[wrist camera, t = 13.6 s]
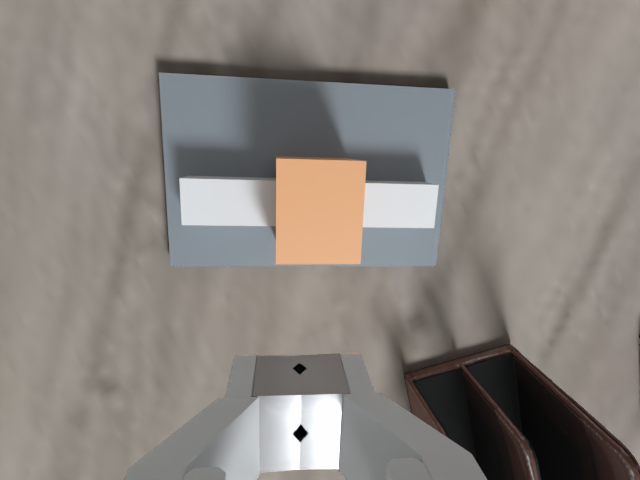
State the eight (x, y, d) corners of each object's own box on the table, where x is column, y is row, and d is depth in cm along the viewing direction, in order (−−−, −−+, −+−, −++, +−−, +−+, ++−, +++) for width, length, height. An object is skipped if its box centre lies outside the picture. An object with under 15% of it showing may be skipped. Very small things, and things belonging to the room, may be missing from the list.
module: (347, 158, 27) (366, 160, 21) (343, 240, 28) (360, 264, 22) (276, 156, 26) (276, 158, 21) (275, 240, 28) (275, 264, 22)
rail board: (449, 91, 28) (472, 83, 24) (430, 262, 31) (448, 275, 27) (163, 75, 25) (146, 64, 22) (173, 262, 28) (160, 276, 25)
